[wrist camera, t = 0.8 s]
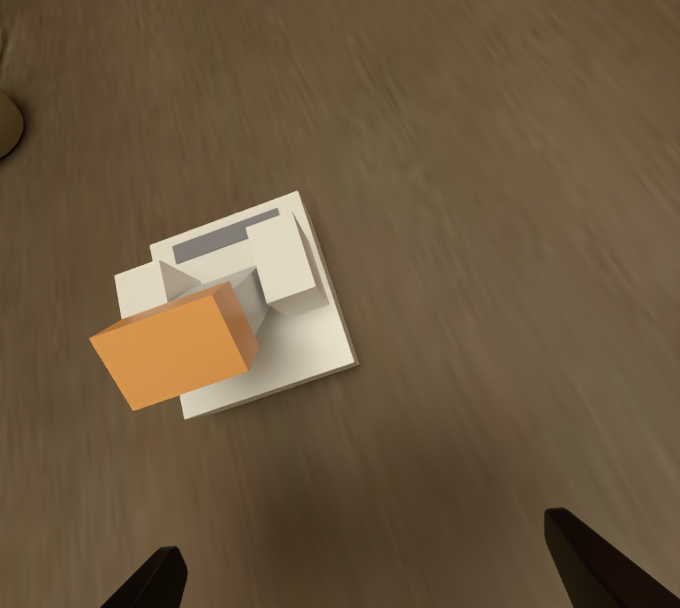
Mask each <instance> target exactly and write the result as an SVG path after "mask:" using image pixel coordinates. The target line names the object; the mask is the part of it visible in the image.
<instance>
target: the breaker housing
mask: <svg viewBox="0 0 680 608" xmlns="http://www.w3.org/2000/svg"><path fill="white" fill-rule="evenodd" d="M150 249H151V254H152V259H153V262H150V263H148V264H145V265H142V266H139V267H137V268H134V269H131V270H128V271H126V272H123V273H120V274H117V275H115V282H116V288H117V294H118V300H119V306H120V312H121V317H122V319H124V318H126V317H129V316H132V315H135V314H137V313H140V312H143V311H146V310H149V309H151V308H154V307H157V306H160V305H163V304H165V303H168V302H171V301H173V300H174V299H176V298H177V297H179V296H180V295H182V294H184V293H185V292H187V291H188V290H190V289H191V288H194V287H197V286H199V285H202V284H205V283H208V282H211V281H213V280H216V279H219V278H222V277H225V276H227V275H230V274H233V273H236V272H238V271H241V270H244V269H247V268H250V267H252V266H255V265H256V267H257V271H258V274H259V278H260V281H261V285H262V289H263V292H264V296H265V299H266V303H267V304H268V305H270V307H269V309H268V311H267V313H266V315H265V317H264V319H263V321H262V323H261V325H260V326H259V328H258V330H257V332H256V334H255V339H256V341H257V343H258V345H259V349H258V352H257V354H256V356H255V358H254V361H253V363H252V365H251V367H250V369H249V372H246V373H243V374H240V375H237V376H234V377H231V378H228V379H225V380H222V381H219V382H217V383H214V384H211V385H208V386H205V387H202V388H199V389H196V390H193V391H190V392H187V393H184V394H181V395H180V399H181V404H182V409H183V414H184V419H189V418H194V417H199V416H204V415H209V414H213V413H218V412H221V411H224V410H227V409H230V408H233V407H236V406H239V405H242V404H245V403H248V402H251V401H254V400H257V399H260V398H263V397H266V396H269V395H272V394H275V393H278V392H281V391H284V390H287V389H290V388H293V387H295V386H298V385H301V384H304V383H307V382H310V381H313V380H316V379H319V378H322V377H325V376H328V375H331V374H334V373H337V372H340V371H343V370H346V369H349V368H352V367H355V366H358V365H360V364H359V361H358V358H357V355H356V352H355V349H354V346H353V343H352V340H351V337H350V334H349V331H348V328H347V325H346V322H345V319H344V316H343V313H342V310H341V307H340V304H339V301H338V298H337V295H336V292H335V289H334V286H333V283H332V280H331V277H330V274H329V271H328V268H327V265H326V262H325V259H324V256H323V253H322V250H321V247H320V244H319V241H318V238H317V235H316V232H315V229H314V226H313V223H312V220H311V218H310V216H309V214H308V211H307V209H306V207H305V205H304V203H303V201H302V199H301V196H300V194H299V192H298V191H296V192H293V193H290V194H288V195H285V196H282V197H279V198H277V199H274V200H271V201H269V202H266V203H263V204H261V205H258V206H255V207H252V208H250V209H247V210H244V211H242V212H239V213H236V214H233V215H231V216H228V217H225V218H223V219H220V220H217V221H214V222H212V223H209V224H206V225H204V226H201V227H198V228H195V229H193V230H190V231H187V232H185V233H182V234H179V235H177V236H174V237H171V238H168V239H166V240H163V241H160V242H158V243H155V244H152V245H150Z"/></svg>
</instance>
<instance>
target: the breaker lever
mask: <svg viewBox="0 0 680 608" xmlns="http://www.w3.org/2000/svg"><path fill="white" fill-rule="evenodd" d="M269 307H270V305H268V304H267V303H266V299H265V296H264V292H263V289H262V285H261V281H260V278H259V274H258V271H257V267H256V265H255V266H252V267H250V268H247V269H244V270H241V271H238V272H236V273H233V274H230V275H227V276H225V277H222V278H219V279H216V280H213V281H211V282H208V283H205V284H202V285H199V286H197V287H194V288H191V289H190V290H188V291H187V292H185V293H184V294H182V295H180V296H179V297H177V298H176V299H174V300H173V301H171V302H168V303H165V304H163V305H160V306H157V307H154V308H151V309H149V310H146V311H143V312H140V313H137V314H135V315H132V316H129V317H126V318H124V319H122V320H120V321H119V322H117V323H115V324H113V325H112V326H110V327H108V328H106V329H105V330H103V331H101V332H100V333H98V334H96V335H94V336H93V337H91V338H89V339H90V341H91V343H92V344H93V346H94V348H95V349H96V351H97V353H98V354H99V356H100V358H101V359H102V361H103V362H104V364H105V366H106V367H107V369H108V371H109V372H110V374H111V376H112V377H113V379H114V381H115V382H116V384H117V385H118V387H119V389H120V390H121V392H122V394H123V395H124V397H125V399H126V400H127V402H128V403H129V405H130V407H131V408H132V410H133V411H135V410H138V409H140V408H143V407H146V406H149V405H152V404H155V403H158V402H161V401H164V400H167V399H170V398H173V397H176V396H179V395H181V394H184V393H187V392H190V391H193V390H196V389H199V388H202V387H205V386H208V385H211V384H214V383H217V382H219V381H222V380H225V379H228V378H231V377H234V376H237V375H240V374H243V373H246V372H249V369H250V367H251V365H252V363H253V361H254V358H255V356H256V354H257V352H258V349H259V345H258V343H257V341H256V339H255V334H256V332H257V330H258V328H259V326H260V325H261V323H262V321H263V319H264V317H265V315H266V313H267V311H268V309H269Z"/></svg>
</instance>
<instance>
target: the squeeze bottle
mask: <svg viewBox="0 0 680 608" xmlns="http://www.w3.org/2000/svg"><path fill="white" fill-rule="evenodd" d="M22 132H23V117H22V115H21V113H20V111H19V110H18V108H17V107H16V106H15V105H14V103H13V102H12V101H11V100H10V98H9V97H8V96H7V95H6V93H5V92H4V91H3V90H2V89H1V87H0V158H1V157H3V156H4V155H6V154H7V153H9V152H10V151H11V150H12V148H13V147H14V146H15V145H16V144H17V143H18V141H19V139H20V136H21V134H22Z"/></svg>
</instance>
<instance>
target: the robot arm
mask: <svg viewBox="0 0 680 608" xmlns="http://www.w3.org/2000/svg"><path fill="white" fill-rule="evenodd" d="M544 535H545V540H546V543H547V546H548V549H549V551H550V553H551V556H552V558H553V560H554V563H555V565H556V567H557V570H558V572H559V575H560V577H561V579H562V582H563V584H564V586H565V589H566V591H567V593H568V596H569V598H570V600H571V603H572V605H573V607H574V608H680V599H679V598H678V597H676V596H675V595H674V594H673V593H671V592H670V591H669V590H668V589H666V588H665V587H664V586H663V585H661V584H660V583H659V582H658V581H656V580H655V579H654V578H653V577H651V576H650V575H649V574H648V573H646V572H645V571H644V570H643V569H641V568H640V567H639V566H637V565H636V564H635V563H634V562H632V561H631V560H630V559H629V558H627V557H626V556H625V555H624V554H622V553H621V552H620V551H619V550H617V549H616V548H615V547H614V546H612V545H611V544H610V543H609V542H607V541H606V540H605V539H604V538H602V537H601V536H600V535H599V534H597V533H596V532H595V531H593V530H592V529H591V528H590V527H588V526H587V525H586V524H585V523H583V522H582V521H581V520H580V519H578V518H577V517H576V516H575V515H573V514H572V513H571V512H570V511H568V510H567V509H565V508H562V507H559V508H549V509H546V510H545V513H544ZM187 575H188V570H187V566H186V564H185V561H184V559H183V557H182V555H181V553H180V550H179V548H178V547H176V546H167V547H161V548H159V549H158V550H157V551H156V552H155V553H154V554H153V555H152V556H151V557H150V558H149V559H148V560H147V561H146V562H145V563H144V564H143V565H142V566H141V567H140V568H139V569H138V570H137V571H136V572H135V573H134V574H133V575H132V576H131V577H130V578H129V579H128V580H127V581H126V582H125V583H124V584H123V585H122V586H121V587H120V588H119V589H118V590H117V591H116V592H115V593H114V594H113V595H112V596H111V597H110V598H109V599H108V600H107V601H106V602H105V603H104V604H103V605H102V606H101V607H100V608H180V604H181V600H182V596H183V592H184V588H185V585H186V581H187Z"/></svg>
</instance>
